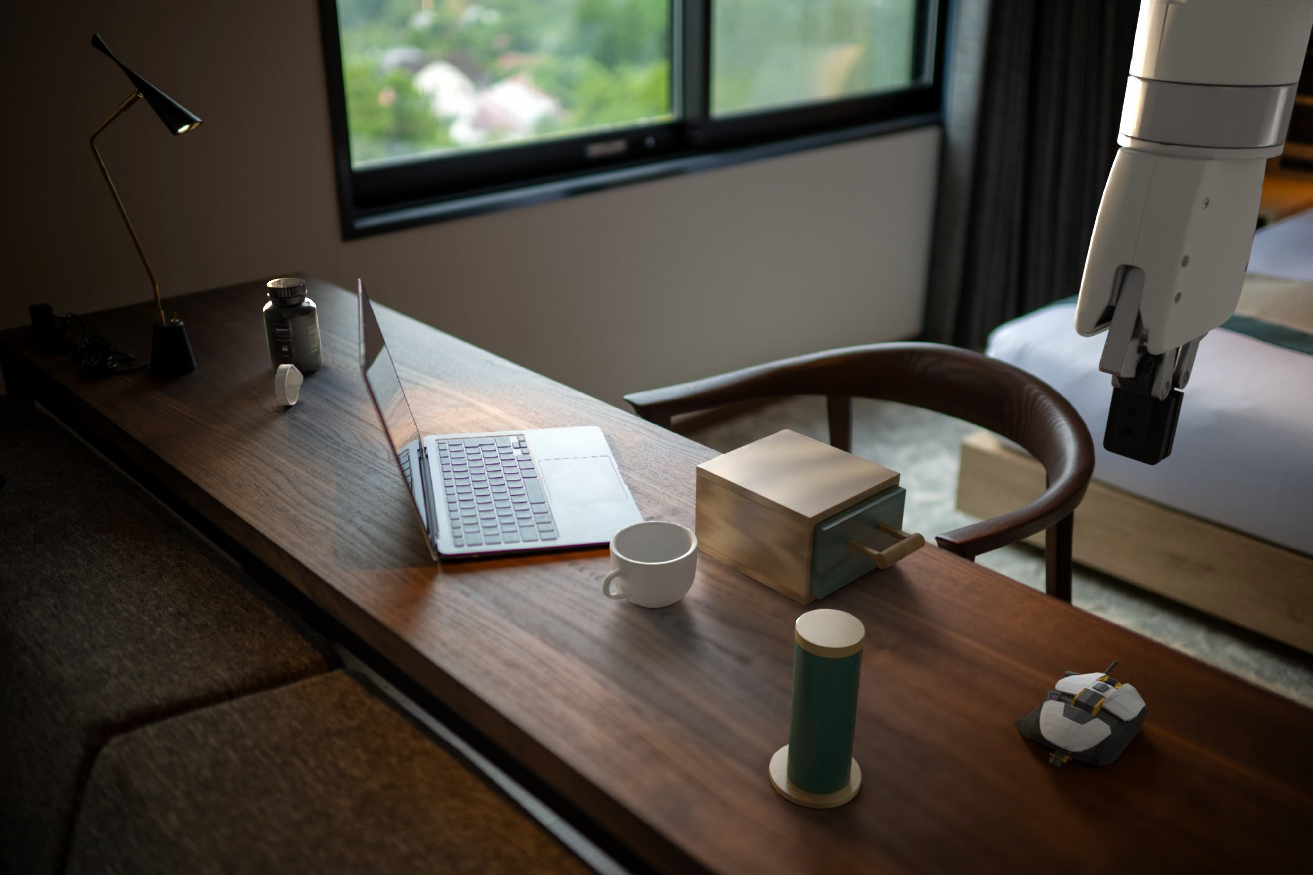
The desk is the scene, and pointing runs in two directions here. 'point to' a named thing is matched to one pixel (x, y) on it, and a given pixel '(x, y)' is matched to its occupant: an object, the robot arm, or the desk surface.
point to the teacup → (652, 563)
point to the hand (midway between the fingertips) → (1135, 453)
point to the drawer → (860, 541)
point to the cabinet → (778, 505)
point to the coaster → (806, 798)
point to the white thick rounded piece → (287, 384)
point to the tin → (824, 700)
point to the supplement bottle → (292, 326)
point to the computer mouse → (1086, 718)
